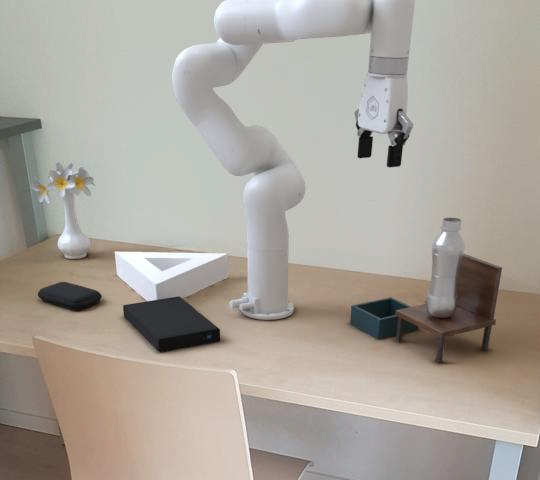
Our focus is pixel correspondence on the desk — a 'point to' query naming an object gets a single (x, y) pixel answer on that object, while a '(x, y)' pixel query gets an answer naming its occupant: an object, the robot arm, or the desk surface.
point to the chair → (461, 305)
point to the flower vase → (68, 206)
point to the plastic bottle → (445, 270)
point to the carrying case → (69, 295)
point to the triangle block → (170, 272)
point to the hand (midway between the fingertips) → (378, 162)
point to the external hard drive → (171, 324)
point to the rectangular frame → (379, 317)
